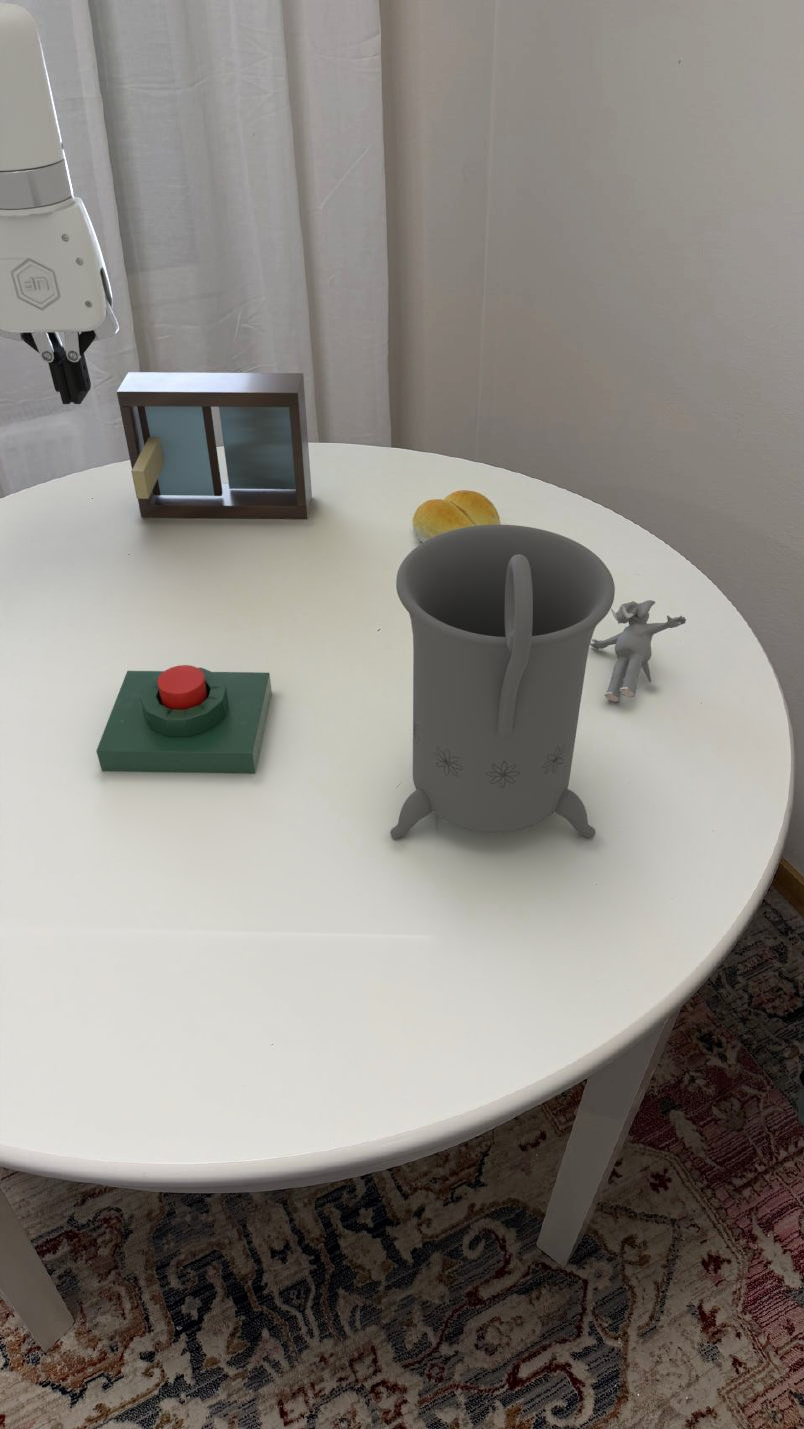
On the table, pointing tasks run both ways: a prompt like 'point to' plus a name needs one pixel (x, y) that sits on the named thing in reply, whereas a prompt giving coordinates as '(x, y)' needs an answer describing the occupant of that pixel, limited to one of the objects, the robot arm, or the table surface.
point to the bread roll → (453, 514)
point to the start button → (182, 687)
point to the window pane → (177, 453)
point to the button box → (187, 726)
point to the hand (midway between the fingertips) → (75, 398)
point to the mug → (499, 673)
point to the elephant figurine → (632, 646)
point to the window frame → (233, 441)
